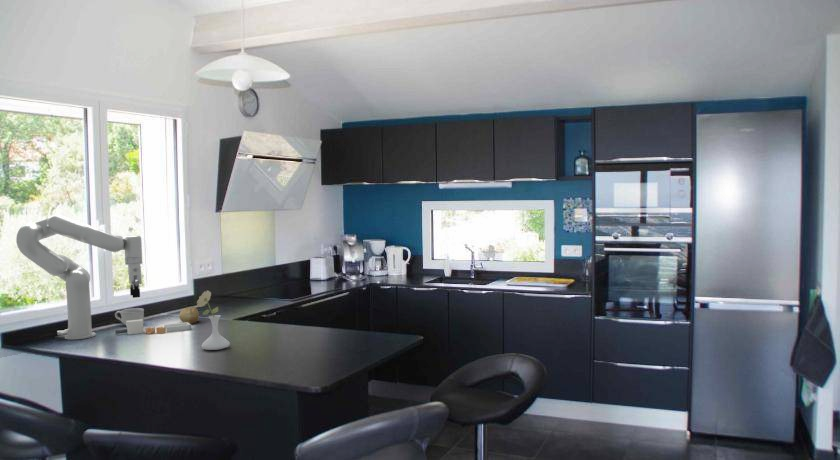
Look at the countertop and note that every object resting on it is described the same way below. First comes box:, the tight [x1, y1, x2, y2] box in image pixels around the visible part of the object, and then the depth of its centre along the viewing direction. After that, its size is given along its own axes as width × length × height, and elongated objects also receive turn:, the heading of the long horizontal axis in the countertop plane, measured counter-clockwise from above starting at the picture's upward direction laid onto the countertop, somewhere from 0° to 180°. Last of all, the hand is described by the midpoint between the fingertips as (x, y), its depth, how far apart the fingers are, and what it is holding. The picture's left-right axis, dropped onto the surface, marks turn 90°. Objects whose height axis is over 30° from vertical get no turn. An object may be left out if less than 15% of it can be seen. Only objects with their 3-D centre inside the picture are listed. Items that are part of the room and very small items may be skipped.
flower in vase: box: [196, 290, 230, 351], centre depth 260 cm, size 13×11×25 cm
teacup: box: [114, 307, 145, 327], centre depth 320 cm, size 14×11×8 cm
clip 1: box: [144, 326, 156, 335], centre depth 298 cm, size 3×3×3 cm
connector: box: [114, 319, 145, 335], centre depth 298 cm, size 12×4×6 cm, turn 120°
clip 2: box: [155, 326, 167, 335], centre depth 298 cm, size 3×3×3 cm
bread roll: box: [178, 306, 200, 325], centre depth 324 cm, size 10×15×8 cm, turn 26°
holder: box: [163, 322, 192, 333], centre depth 305 cm, size 11×8×2 cm
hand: (135, 296), depth 302 cm, fingers open, 9 cm apart
